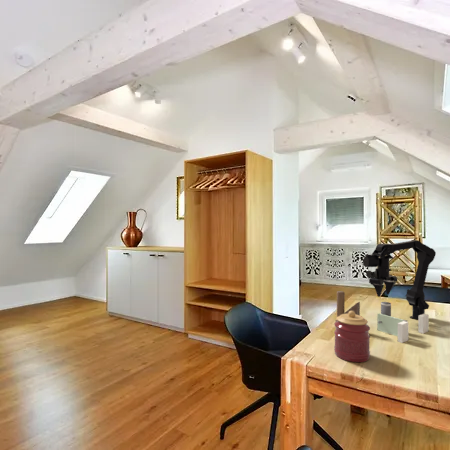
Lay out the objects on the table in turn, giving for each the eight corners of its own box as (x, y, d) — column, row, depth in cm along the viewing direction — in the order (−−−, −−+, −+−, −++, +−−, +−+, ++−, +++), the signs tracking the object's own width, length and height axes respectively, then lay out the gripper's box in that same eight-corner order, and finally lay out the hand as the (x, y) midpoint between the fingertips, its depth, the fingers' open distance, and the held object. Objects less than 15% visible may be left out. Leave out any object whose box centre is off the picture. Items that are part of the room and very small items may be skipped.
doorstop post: (381, 327, 153) (381, 301, 153) (391, 328, 150) (391, 302, 150) (380, 329, 149) (380, 303, 149) (390, 331, 147) (390, 304, 147)
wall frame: (423, 329, 149) (424, 313, 149) (428, 331, 147) (428, 314, 147) (397, 341, 134) (397, 323, 134) (402, 342, 133) (402, 324, 133)
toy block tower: (357, 332, 145) (357, 295, 145) (335, 327, 152) (335, 291, 152) (359, 330, 148) (360, 293, 148) (338, 325, 155) (338, 290, 155)
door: (407, 338, 138) (408, 320, 138) (404, 339, 136) (404, 321, 136) (379, 329, 149) (379, 313, 149) (375, 330, 148) (375, 314, 148)
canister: (352, 365, 111) (352, 317, 111) (327, 351, 123) (327, 308, 123) (377, 359, 116) (377, 313, 116) (351, 346, 128) (351, 305, 128)
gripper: (378, 264, 177) (377, 290, 177) (359, 266, 167) (359, 294, 167) (397, 266, 168) (397, 294, 168) (379, 269, 158) (379, 299, 158)
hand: (383, 295), depth 165 cm, fingers open, 9 cm apart
